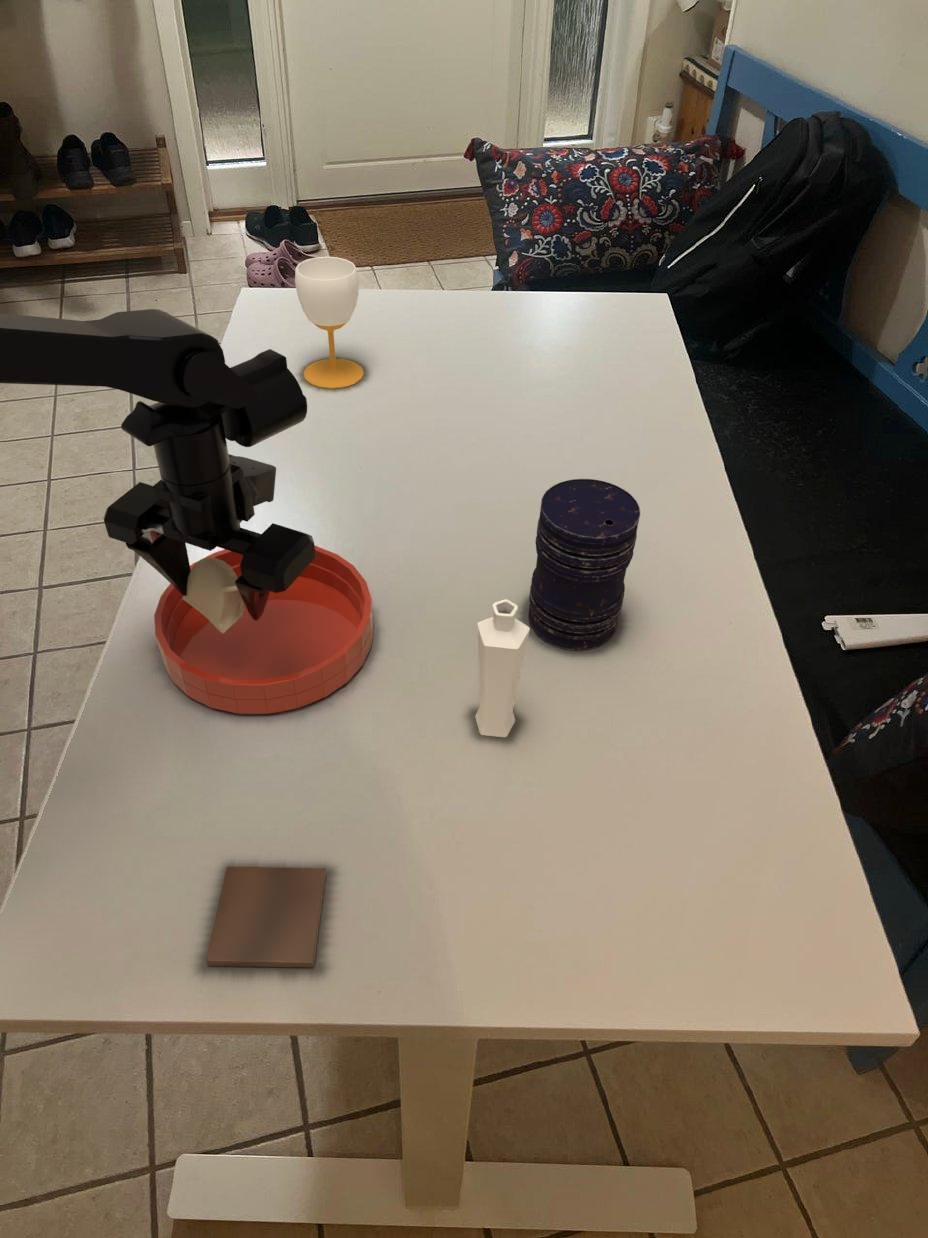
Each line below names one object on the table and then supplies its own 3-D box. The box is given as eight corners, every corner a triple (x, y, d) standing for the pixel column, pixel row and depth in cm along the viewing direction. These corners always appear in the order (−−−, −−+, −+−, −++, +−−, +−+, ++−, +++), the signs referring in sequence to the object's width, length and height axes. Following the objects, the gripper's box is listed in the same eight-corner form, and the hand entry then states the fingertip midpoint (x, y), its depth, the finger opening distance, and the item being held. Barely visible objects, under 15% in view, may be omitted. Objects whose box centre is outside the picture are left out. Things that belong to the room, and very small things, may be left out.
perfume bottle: (524, 737, 84) (539, 623, 74) (479, 744, 83) (487, 629, 73) (513, 701, 87) (525, 587, 77) (469, 707, 87) (476, 592, 76)
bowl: (366, 717, 85) (364, 685, 82) (140, 716, 84) (130, 684, 81) (377, 573, 101) (376, 542, 98) (187, 570, 100) (180, 539, 97)
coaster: (207, 966, 67) (205, 961, 66) (228, 871, 73) (226, 866, 72) (313, 968, 67) (312, 963, 67) (325, 873, 73) (325, 868, 72)
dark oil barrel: (509, 607, 97) (519, 495, 87) (579, 578, 101) (597, 467, 91) (564, 664, 91) (582, 550, 81) (636, 630, 95) (663, 518, 85)
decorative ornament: (217, 580, 89) (208, 537, 85) (266, 622, 84) (259, 579, 81) (181, 598, 86) (171, 555, 83) (230, 642, 82) (221, 599, 79)
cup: (335, 354, 139) (327, 250, 128) (376, 373, 135) (372, 268, 124) (290, 374, 134) (279, 267, 123) (332, 395, 129) (324, 287, 118)
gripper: (340, 446, 77) (350, 583, 88) (163, 397, 82) (192, 532, 93) (270, 515, 69) (290, 656, 80) (79, 457, 74) (122, 596, 85)
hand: (223, 605), depth 85 cm, fingers closed on decorative ornament, 7 cm apart
